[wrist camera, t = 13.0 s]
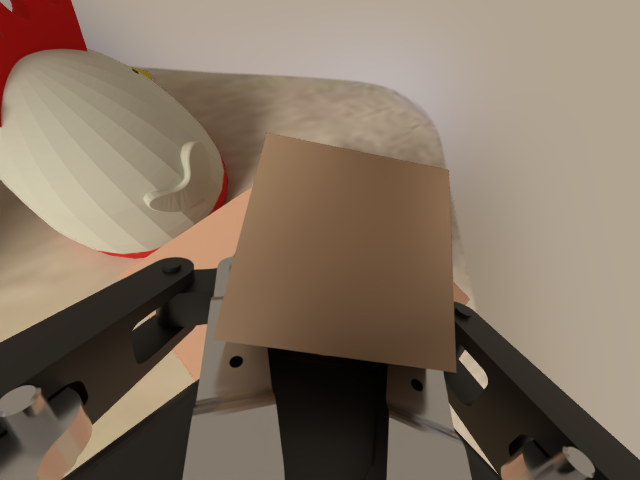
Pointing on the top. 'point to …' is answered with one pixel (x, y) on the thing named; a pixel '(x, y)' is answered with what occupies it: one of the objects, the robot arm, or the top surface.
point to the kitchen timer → (97, 139)
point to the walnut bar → (344, 258)
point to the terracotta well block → (212, 265)
